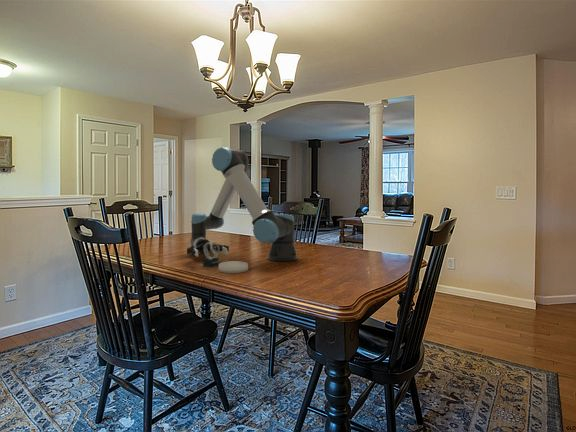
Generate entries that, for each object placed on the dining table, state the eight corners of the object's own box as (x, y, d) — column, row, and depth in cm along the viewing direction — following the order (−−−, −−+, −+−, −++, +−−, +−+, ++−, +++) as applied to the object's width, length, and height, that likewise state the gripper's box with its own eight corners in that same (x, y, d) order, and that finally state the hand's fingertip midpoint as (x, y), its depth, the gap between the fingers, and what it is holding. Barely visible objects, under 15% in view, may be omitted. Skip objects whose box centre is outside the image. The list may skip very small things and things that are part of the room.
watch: (213, 267, 167) (213, 243, 166) (200, 265, 171) (200, 242, 170) (221, 265, 172) (221, 242, 171) (209, 263, 176) (209, 240, 175)
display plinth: (246, 266, 171) (246, 260, 171) (248, 272, 158) (248, 267, 158) (218, 266, 169) (218, 261, 169) (218, 273, 156) (218, 267, 156)
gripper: (226, 251, 194) (238, 258, 174) (177, 254, 183) (184, 262, 164) (226, 237, 193) (238, 243, 174) (177, 239, 182) (184, 246, 163)
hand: (212, 252), depth 169 cm, fingers open, 13 cm apart
